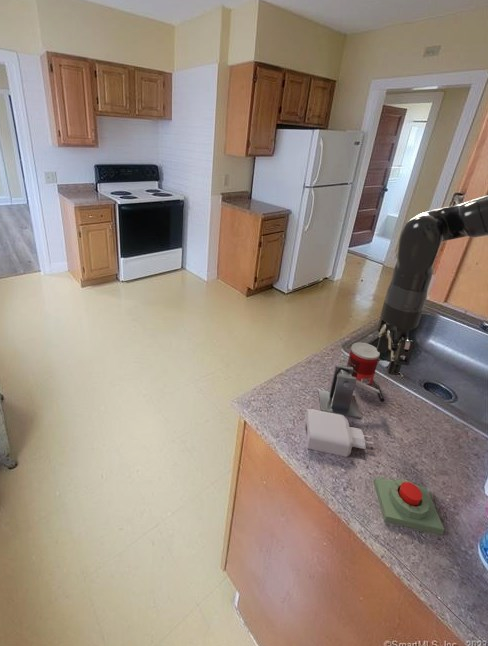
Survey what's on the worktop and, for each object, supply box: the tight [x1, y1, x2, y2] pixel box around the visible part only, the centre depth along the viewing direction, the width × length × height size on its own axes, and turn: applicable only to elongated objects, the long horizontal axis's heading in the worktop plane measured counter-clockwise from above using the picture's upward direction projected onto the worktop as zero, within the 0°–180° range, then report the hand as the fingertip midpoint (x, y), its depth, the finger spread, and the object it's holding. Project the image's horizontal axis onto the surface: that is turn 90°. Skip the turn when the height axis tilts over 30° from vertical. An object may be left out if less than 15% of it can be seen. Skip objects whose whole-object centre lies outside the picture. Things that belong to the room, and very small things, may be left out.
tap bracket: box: [317, 364, 362, 420], centre depth 87 cm, size 10×8×12 cm
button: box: [399, 481, 422, 506], centre depth 63 cm, size 4×4×2 cm
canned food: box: [346, 342, 381, 386], centre depth 97 cm, size 8×8×11 cm
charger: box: [304, 407, 374, 458], centre depth 78 cm, size 5×9×15 cm
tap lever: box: [337, 369, 386, 403], centre depth 85 cm, size 12×5×2 cm, turn 77°
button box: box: [373, 476, 445, 536], centre depth 64 cm, size 10×8×4 cm
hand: (386, 362), depth 78 cm, fingers open, 8 cm apart
